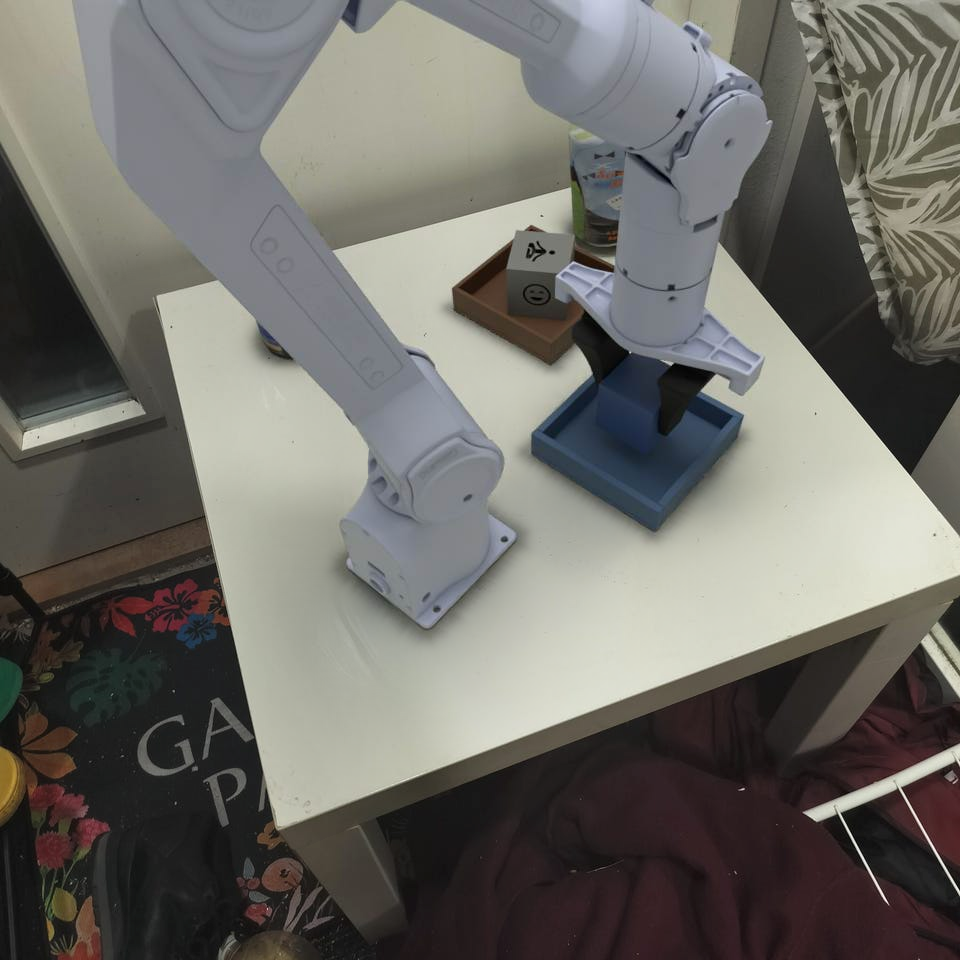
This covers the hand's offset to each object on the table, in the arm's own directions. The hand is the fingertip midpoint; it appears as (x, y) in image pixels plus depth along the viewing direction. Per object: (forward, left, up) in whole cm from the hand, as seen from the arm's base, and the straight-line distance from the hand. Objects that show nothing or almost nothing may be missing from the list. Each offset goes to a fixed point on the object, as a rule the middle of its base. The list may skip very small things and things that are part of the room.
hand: (640, 409), depth 61 cm
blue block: (0, 0, -1) cm, 1 cm away
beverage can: (+19, +17, -4) cm, 26 cm away
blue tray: (0, 0, -4) cm, 4 cm away
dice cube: (+8, +16, -4) cm, 18 cm away
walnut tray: (+8, +16, -4) cm, 18 cm away
